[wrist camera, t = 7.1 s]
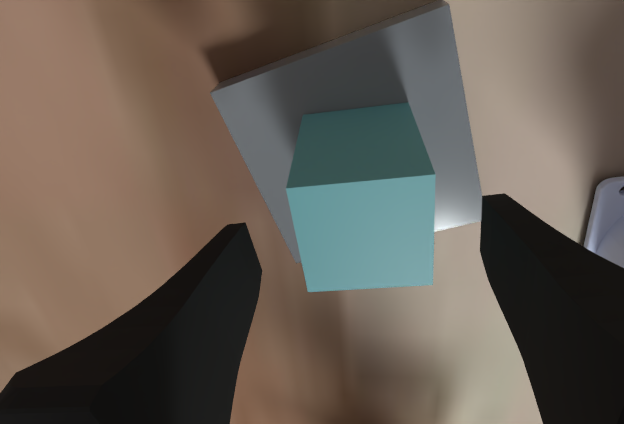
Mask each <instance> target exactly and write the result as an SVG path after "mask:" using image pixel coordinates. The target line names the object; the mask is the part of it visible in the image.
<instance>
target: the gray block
mask: <svg viewBox="0 0 624 424" xmlns="http://www.w3.org/2000/svg"><path fill="white" fill-rule="evenodd" d="M210 94H211V96H212V98H213V100H214V102H215V104H216V106H217V108H218V110H219V112H220V114H221V116H222V117H223V119H224V121H225V123H226V125H227V127H228V129H229V131H230V133H231V135H232V137H233V139H234V141H235V143H236V145H237V147H238V149H239V151H240V153H241V155H242V157H243V159H244V161H245V163H246V165H247V167H248V169H249V171H250V173H251V175H252V177H253V179H254V181H255V183H256V185H257V187H258V189H259V191H260V193H261V195H262V197H263V199H264V201H265V203H266V204H267V206H268V208H269V210H270V212H271V214H272V216H273V218H274V220H275V222H276V224H277V226H278V228H279V230H280V232H281V234H282V236H283V238H284V240H285V242H286V244H287V246H288V248H289V250H290V252H291V254H292V256H293V258H294V260H295V262H296V263H300V262H301V257H300V252H299V248H298V243H297V238H296V234H295V229H294V224H293V220H292V215H291V210H290V205H289V201H288V196H287V191H286V186H287V181H288V177H289V173H290V168H291V164H292V160H293V155H294V151H295V147H296V142H297V138H298V134H299V129H300V125H301V121H302V116H303V115H305V114H314V113H322V112H331V111H339V110H348V109H356V108H365V107H373V106H381V105H390V104H398V103H407V102H409V105H410V108H411V110H412V113H413V116H414V118H415V121H416V124H417V126H418V129H419V132H420V134H421V137H422V140H423V142H424V145H425V148H426V150H427V153H428V156H429V158H430V161H431V164H432V166H433V169H434V172H435V174H436V177H435V218H434V232H436V231H440V230H444V229H449V228H453V227H457V226H462V225H466V224H471V223H475V222H479V221H481V213H482V193H481V187H480V181H479V175H478V169H477V164H476V158H475V152H474V146H473V140H472V134H471V129H470V123H469V117H468V111H467V105H466V100H465V94H464V88H463V82H462V76H461V70H460V65H459V59H458V53H457V47H456V41H455V35H454V30H453V24H452V18H451V12H450V6H449V4H448V3H447V2H445V1H444V0H438V1H435V2H432V3H430V4H427V5H424V6H422V7H419V8H416V9H414V10H411V11H408V12H406V13H403V14H400V15H398V16H395V17H392V18H390V19H387V20H384V21H382V22H379V23H377V24H374V25H371V26H369V27H366V28H363V29H361V30H358V31H355V32H353V33H350V34H347V35H345V36H342V37H339V38H337V39H334V40H331V41H329V42H326V43H323V44H321V45H318V46H316V47H313V48H310V49H308V50H305V51H302V52H300V53H297V54H294V55H292V56H289V57H286V58H284V59H281V60H278V61H276V62H273V63H270V64H268V65H265V66H262V67H260V68H257V69H254V70H252V71H249V72H247V73H244V74H241V75H239V76H236V77H233V78H231V79H228V80H225V81H223V82H220V83H219V84H218V85H217V86H216V87H215V88H214V89H213V90H212V91H211V92H210Z"/></svg>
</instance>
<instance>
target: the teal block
mask: <svg viewBox="0 0 624 424" xmlns="http://www.w3.org/2000/svg"><path fill="white" fill-rule="evenodd" d="M435 177H436V174H435V172H434V169H433V166H432V164H431V161H430V158H429V156H428V153H427V150H426V148H425V145H424V142H423V140H422V137H421V134H420V132H419V129H418V126H417V124H416V121H415V118H414V116H413V113H412V110H411V108H410V105H409V102H407V103H398V104H390V105H381V106H373V107H365V108H356V109H348V110H339V111H331V112H322V113H314V114H305V115H303V116H302V121H301V125H300V129H299V134H298V138H297V142H296V147H295V151H294V155H293V160H292V164H291V168H290V173H289V177H288V181H287V186H286V191H287V196H288V201H289V205H290V210H291V215H292V220H293V224H294V229H295V234H296V238H297V243H298V248H299V252H300V257H301V262H302V266H303V271H304V276H305V280H306V285H307V290H308V292H319V291H336V290H353V289H371V288H388V287H405V286H423V285H433V259H434V218H435Z"/></svg>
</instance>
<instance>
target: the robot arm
mask: <svg viewBox="0 0 624 424" xmlns="http://www.w3.org/2000/svg"><path fill="white" fill-rule="evenodd" d="M623 186H624V176H622V177H613V178H608V179H605V180H604V181H602V182H601V183H600V184H599V185H598V186H597V188H596V192H595V196H594V201H593V205H592V210H591V215H590V219H589V224H588V228H587V233H586V238H585V242H584V247H583V246H581V245H580V244H578V243H576V242H575V241H573V240H571V239H570V238H568V237H567V236H565V235H563V234H562V233H560V232H559V231H557V230H556V229H554V228H553V227H551V226H550V225H548V224H547V223H545V222H544V221H542V220H541V219H540V218H538V217H537V216H535V215H534V214H532V213H531V212H530V211H528V210H527V209H526V208H524V207H523V206H521V205H520V204H519V203H517V202H516V201H515V200H513V199H512V198H511V197H509V196H508V195H506V194H496V195H487V196H482V213H481V239H480V253H481V256H482V260H483V263H484V267H485V270H486V274H487V277H488V280H489V283H490V285H491V287H492V290H493V292H494V294H495V296H496V299H497V301H498V303H499V305H500V308H501V310H502V312H503V314H504V317H505V319H506V321H507V323H508V325H509V328H510V330H511V332H512V334H513V337H514V339H515V341H516V343H517V346H518V348H519V351H520V353H521V356H522V358H523V361H524V364H525V367H526V370H527V373H528V377H529V380H530V383H531V386H532V389H533V392H534V395H535V398H536V402H537V405H538V408H539V412H540V415H541V418H542V421H543V424H624V190H621V191H619V190H620V189H621V188H622V187H623ZM261 275H262V269H261V266H260V263H259V260H258V257H257V254H256V251H255V249H254V246H253V243H252V240H251V237H250V234H249V231H248V228H247V226H246V223H238V224H229V225H227V226H225V227H224V228H223V229H222V230H221V231H220V232H219V233H218V234H217V235H216V236H215V237H214V238H213V239H212V240H211V241H210V242H209V243H208V244H207V245H205V246H204V247H203V248H202V249H201V250H200V251H199V252H198V253H197V254H196V255H195V256H194V257H193V258H192V259H191V260H190V261H189V262H188V263H187V264H186V265H185V266H184V267H183V268H181V269H180V270H179V271H178V272H177V273H176V274H175V275H174V276H172V277H171V278H170V279H169V280H168V281H167V282H166V283H165V284H163V285H162V286H161V287H160V288H159V289H157V290H156V291H155V292H154V293H152V294H151V295H150V296H148V297H147V298H146V299H144V300H143V301H142V302H140V303H139V304H138V305H136V306H135V307H134V308H132V309H131V310H129V311H128V312H126V313H125V314H123V315H122V316H120V317H119V318H117V319H116V320H114V321H113V322H111V323H109V324H108V325H106V326H105V327H103V328H102V329H100V330H98V331H97V332H95V333H93V334H92V335H90V336H88V337H86V338H85V339H83V340H81V341H79V342H77V343H76V344H74V345H72V346H70V347H68V348H66V349H64V350H62V351H61V352H59V353H57V354H55V355H52V356H50V357H48V358H46V359H44V360H42V361H40V362H38V363H36V364H34V365H32V366H30V367H27V368H25V369H23V370H21V371H19V372H16V373H15V375H14V376H13V377H12V378H11V380H10V381H9V382H8V384H7V385H6V386H5V388H4V389H3V390H2V392H1V393H0V424H230V417H231V410H232V404H233V398H234V392H235V386H236V380H237V374H238V370H239V366H240V361H241V357H242V354H243V350H244V347H245V344H246V340H247V337H248V333H249V330H250V326H251V323H252V319H253V316H254V312H255V309H256V305H257V301H258V297H259V290H260V283H261Z"/></svg>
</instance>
